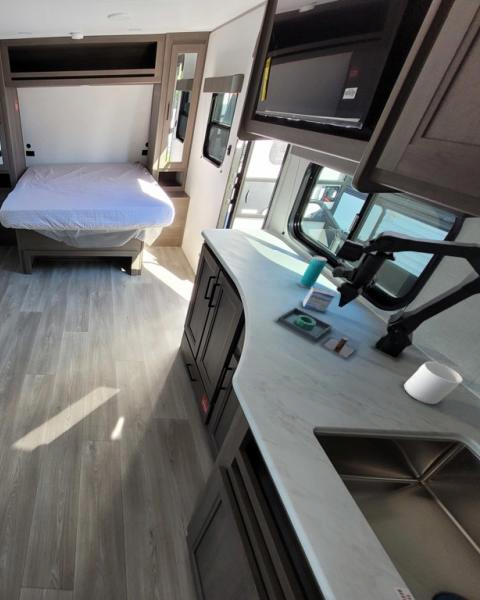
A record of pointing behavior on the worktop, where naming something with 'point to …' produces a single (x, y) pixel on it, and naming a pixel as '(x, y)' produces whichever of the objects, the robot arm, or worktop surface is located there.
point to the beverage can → (313, 271)
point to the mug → (432, 382)
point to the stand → (339, 346)
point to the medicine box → (318, 299)
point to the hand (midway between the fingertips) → (345, 303)
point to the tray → (301, 331)
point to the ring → (305, 322)
